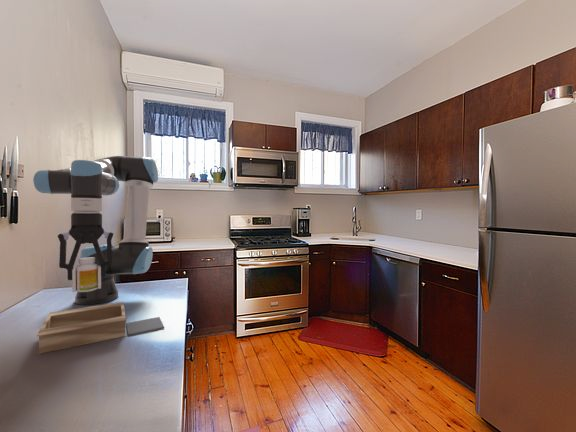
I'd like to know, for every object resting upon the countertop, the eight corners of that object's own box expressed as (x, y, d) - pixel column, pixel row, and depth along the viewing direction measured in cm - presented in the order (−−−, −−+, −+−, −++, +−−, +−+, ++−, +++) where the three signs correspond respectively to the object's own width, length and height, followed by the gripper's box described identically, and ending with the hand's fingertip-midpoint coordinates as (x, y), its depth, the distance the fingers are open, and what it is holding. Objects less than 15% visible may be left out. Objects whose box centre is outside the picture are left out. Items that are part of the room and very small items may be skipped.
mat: (126, 324, 90) (126, 322, 90) (159, 318, 96) (159, 316, 96) (128, 336, 82) (128, 334, 82) (164, 328, 88) (164, 326, 88)
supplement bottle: (102, 288, 84) (102, 257, 84) (84, 293, 79) (84, 260, 79) (90, 286, 86) (90, 256, 86) (71, 291, 81) (71, 258, 81)
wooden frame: (49, 331, 85) (49, 312, 84) (123, 318, 95) (123, 301, 95) (36, 358, 69) (36, 335, 69) (125, 339, 80) (126, 319, 80)
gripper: (43, 212, 74) (44, 297, 74) (123, 212, 84) (123, 287, 84) (48, 212, 80) (49, 290, 80) (122, 212, 90) (122, 282, 91)
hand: (87, 288), depth 82 cm, fingers closed on supplement bottle, 5 cm apart
